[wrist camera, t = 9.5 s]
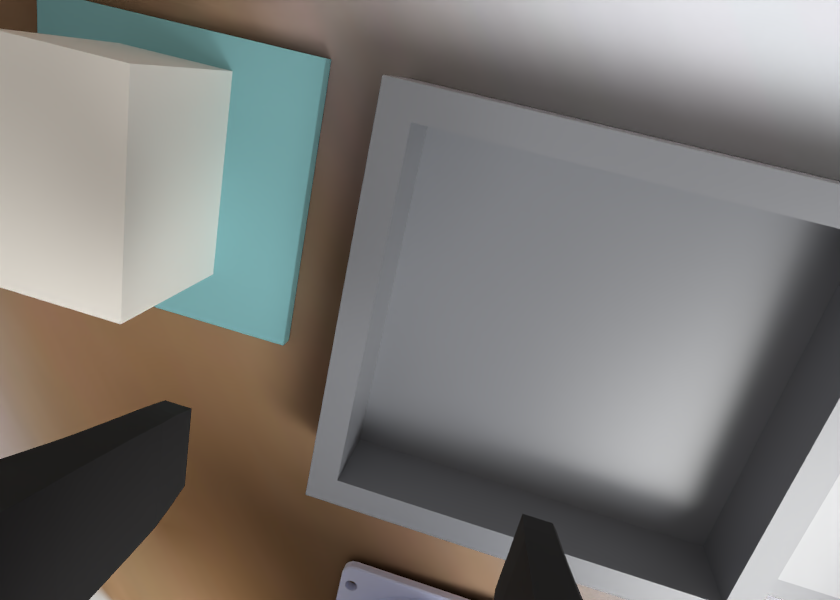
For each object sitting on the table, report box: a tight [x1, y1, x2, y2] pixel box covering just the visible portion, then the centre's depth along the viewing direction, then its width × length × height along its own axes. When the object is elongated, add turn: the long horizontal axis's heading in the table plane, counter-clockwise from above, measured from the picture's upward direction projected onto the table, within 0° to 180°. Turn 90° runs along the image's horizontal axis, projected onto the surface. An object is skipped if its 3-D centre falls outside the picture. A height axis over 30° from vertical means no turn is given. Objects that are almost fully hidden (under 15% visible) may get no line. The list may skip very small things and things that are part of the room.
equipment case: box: [306, 75, 840, 600], centre depth 18 cm, size 14×30×3 cm, turn 78°
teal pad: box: [37, 0, 331, 345], centre depth 21 cm, size 10×10×1 cm
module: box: [0, 29, 233, 324], centre depth 18 cm, size 7×4×5 cm, turn 168°
